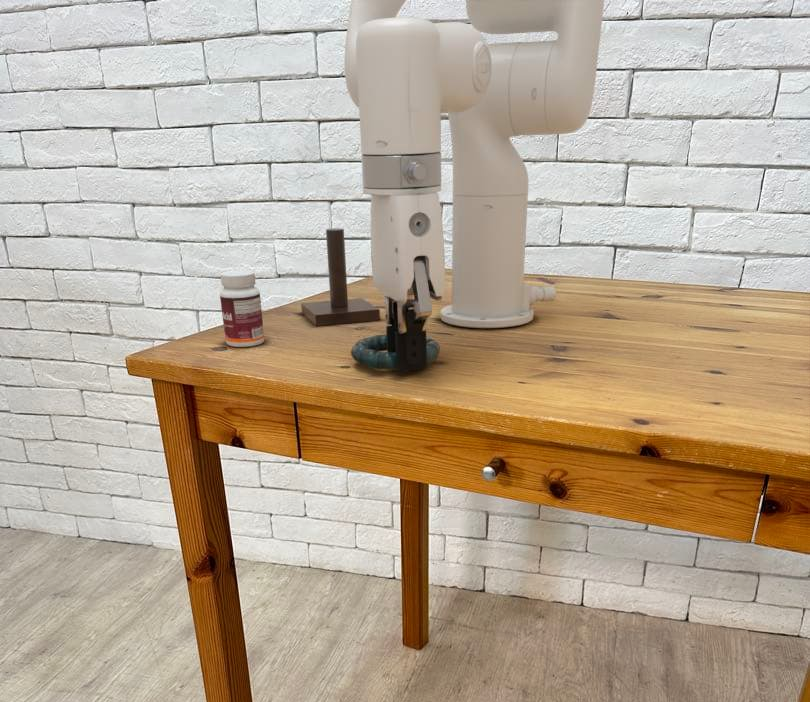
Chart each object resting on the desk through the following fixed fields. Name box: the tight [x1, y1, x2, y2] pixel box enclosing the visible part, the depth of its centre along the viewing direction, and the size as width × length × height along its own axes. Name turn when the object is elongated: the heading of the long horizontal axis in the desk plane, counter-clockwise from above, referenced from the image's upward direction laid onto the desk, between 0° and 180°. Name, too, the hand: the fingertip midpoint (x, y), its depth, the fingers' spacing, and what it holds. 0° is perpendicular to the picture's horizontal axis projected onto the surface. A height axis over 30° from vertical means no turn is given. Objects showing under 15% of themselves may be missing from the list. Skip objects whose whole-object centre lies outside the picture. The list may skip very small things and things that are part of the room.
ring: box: [350, 333, 441, 371], centre depth 85 cm, size 10×10×2 cm
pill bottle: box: [219, 269, 265, 348], centre depth 93 cm, size 5×5×8 cm
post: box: [300, 227, 381, 327], centre depth 105 cm, size 9×9×12 cm
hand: (406, 364), depth 82 cm, fingers closed on ring, 2 cm apart
